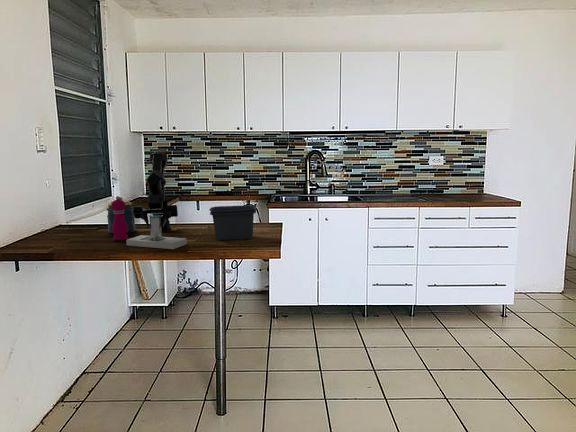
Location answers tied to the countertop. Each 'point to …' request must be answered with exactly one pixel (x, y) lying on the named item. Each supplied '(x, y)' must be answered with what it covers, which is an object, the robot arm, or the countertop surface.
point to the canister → (127, 216)
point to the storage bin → (233, 221)
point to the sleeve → (155, 227)
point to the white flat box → (156, 242)
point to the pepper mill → (119, 220)
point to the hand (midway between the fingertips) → (155, 227)
